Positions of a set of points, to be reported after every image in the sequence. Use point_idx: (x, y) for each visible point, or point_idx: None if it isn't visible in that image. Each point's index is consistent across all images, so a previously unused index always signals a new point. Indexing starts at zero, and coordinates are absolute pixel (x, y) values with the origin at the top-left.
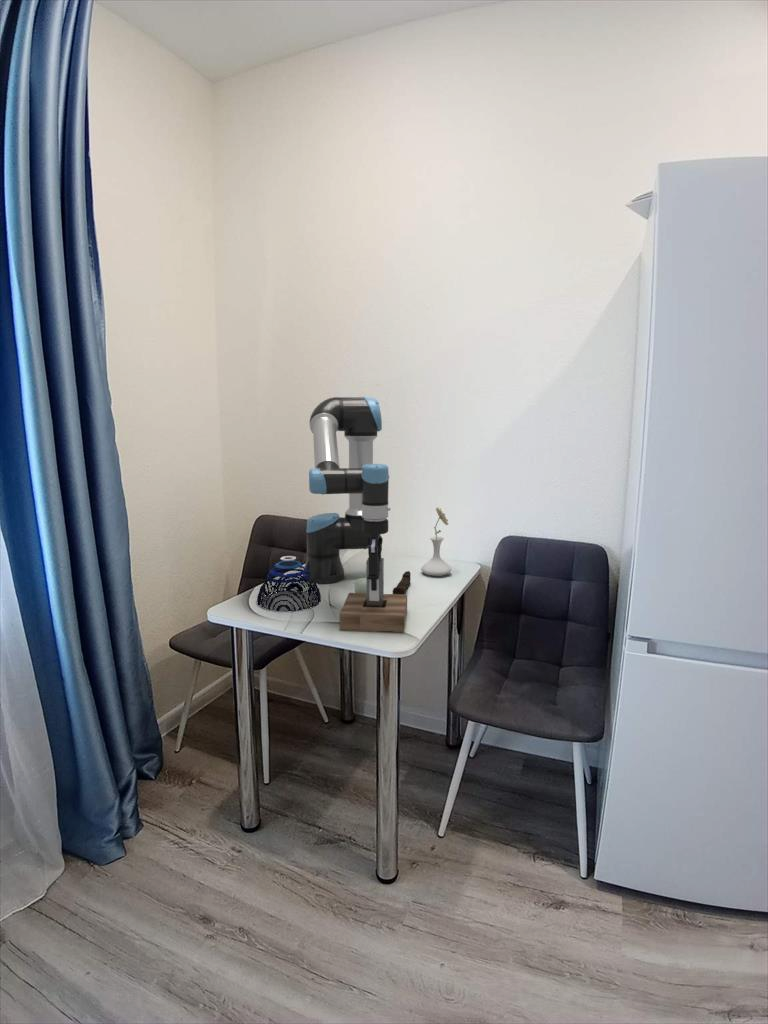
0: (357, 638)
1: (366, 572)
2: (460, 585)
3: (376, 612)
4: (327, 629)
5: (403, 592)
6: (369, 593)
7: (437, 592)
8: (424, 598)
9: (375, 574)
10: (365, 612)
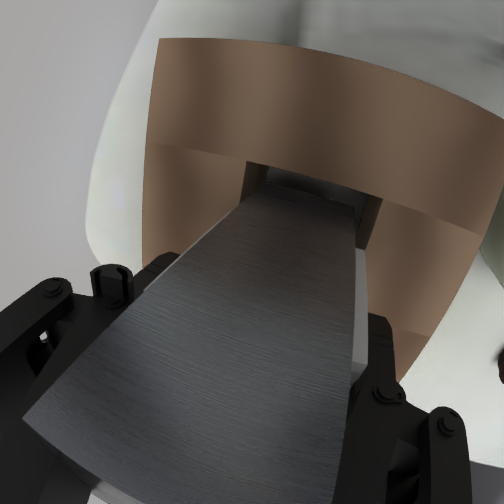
0: (131, 123)
1: (127, 308)
2: (482, 463)
3: (165, 222)
4: (216, 5)
5: (500, 374)
6: (208, 230)
7: (478, 431)
8: (460, 405)
9: (35, 344)
10: (162, 169)
